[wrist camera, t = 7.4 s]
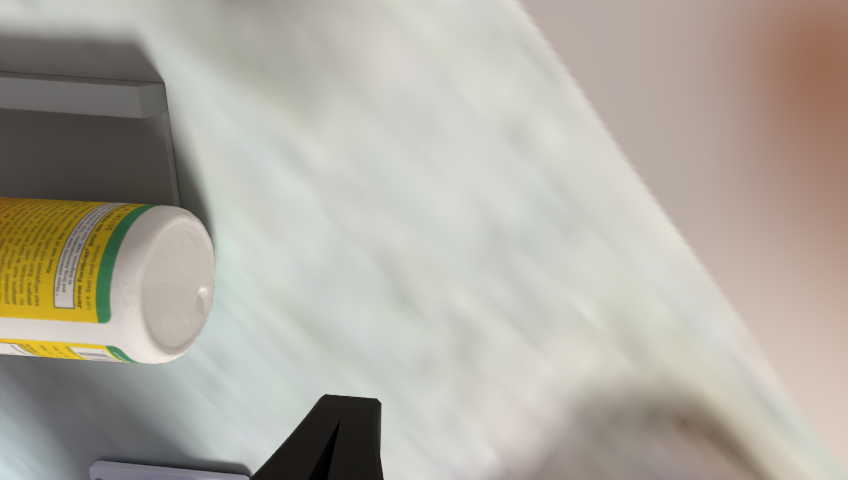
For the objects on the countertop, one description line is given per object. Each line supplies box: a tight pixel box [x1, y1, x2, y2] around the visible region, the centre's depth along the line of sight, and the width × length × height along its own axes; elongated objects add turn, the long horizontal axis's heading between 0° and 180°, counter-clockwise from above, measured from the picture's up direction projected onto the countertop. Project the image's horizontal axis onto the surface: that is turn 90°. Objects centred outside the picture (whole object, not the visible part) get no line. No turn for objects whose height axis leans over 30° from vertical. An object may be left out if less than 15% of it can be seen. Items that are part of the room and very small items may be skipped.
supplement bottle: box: [0, 197, 215, 364], centre depth 17 cm, size 5×5×10 cm
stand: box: [0, 71, 181, 208], centre depth 19 cm, size 10×11×2 cm
